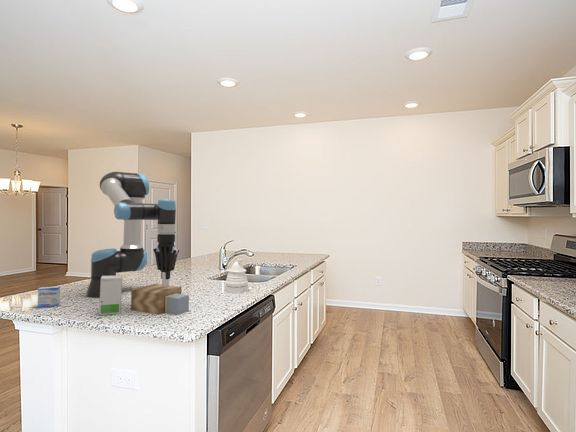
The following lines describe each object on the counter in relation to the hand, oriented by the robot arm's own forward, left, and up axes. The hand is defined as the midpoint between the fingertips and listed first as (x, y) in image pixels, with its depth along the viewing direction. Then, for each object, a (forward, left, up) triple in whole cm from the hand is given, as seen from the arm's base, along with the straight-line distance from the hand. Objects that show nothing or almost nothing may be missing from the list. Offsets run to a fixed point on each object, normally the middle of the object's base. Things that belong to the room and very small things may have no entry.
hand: (165, 286), depth 152 cm
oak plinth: (-5, 0, -10) cm, 12 cm away
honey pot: (+9, +46, -11) cm, 48 cm away
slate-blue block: (+4, 0, -7) cm, 8 cm away
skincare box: (-17, -14, -11) cm, 24 cm away
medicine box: (-50, -19, -11) cm, 55 cm away
